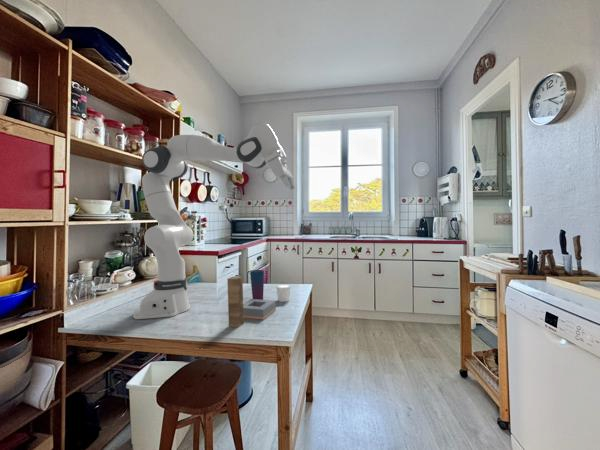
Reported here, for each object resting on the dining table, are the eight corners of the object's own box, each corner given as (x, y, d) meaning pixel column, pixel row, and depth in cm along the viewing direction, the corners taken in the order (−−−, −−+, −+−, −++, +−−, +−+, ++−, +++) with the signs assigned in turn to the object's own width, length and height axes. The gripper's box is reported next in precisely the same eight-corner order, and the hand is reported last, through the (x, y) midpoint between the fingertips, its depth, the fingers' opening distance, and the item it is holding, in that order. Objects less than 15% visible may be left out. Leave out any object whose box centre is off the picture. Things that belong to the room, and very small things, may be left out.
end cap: (263, 319, 105) (263, 309, 105) (237, 316, 109) (237, 307, 109) (275, 309, 117) (275, 300, 117) (251, 307, 121) (251, 298, 120)
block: (238, 327, 98) (236, 279, 98) (228, 326, 100) (227, 278, 99) (243, 323, 102) (242, 276, 102) (234, 322, 103) (233, 276, 103)
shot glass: (276, 298, 134) (276, 284, 134) (290, 297, 135) (289, 284, 134) (276, 302, 127) (276, 288, 127) (290, 301, 128) (290, 287, 128)
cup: (262, 303, 126) (261, 272, 126) (248, 303, 128) (247, 272, 127) (266, 299, 133) (265, 269, 133) (254, 298, 134) (253, 269, 134)
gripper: (275, 166, 122) (289, 193, 122) (262, 158, 102) (278, 189, 102) (287, 160, 121) (301, 186, 121) (276, 149, 101) (292, 181, 101)
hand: (291, 188), depth 111 cm, fingers open, 8 cm apart
